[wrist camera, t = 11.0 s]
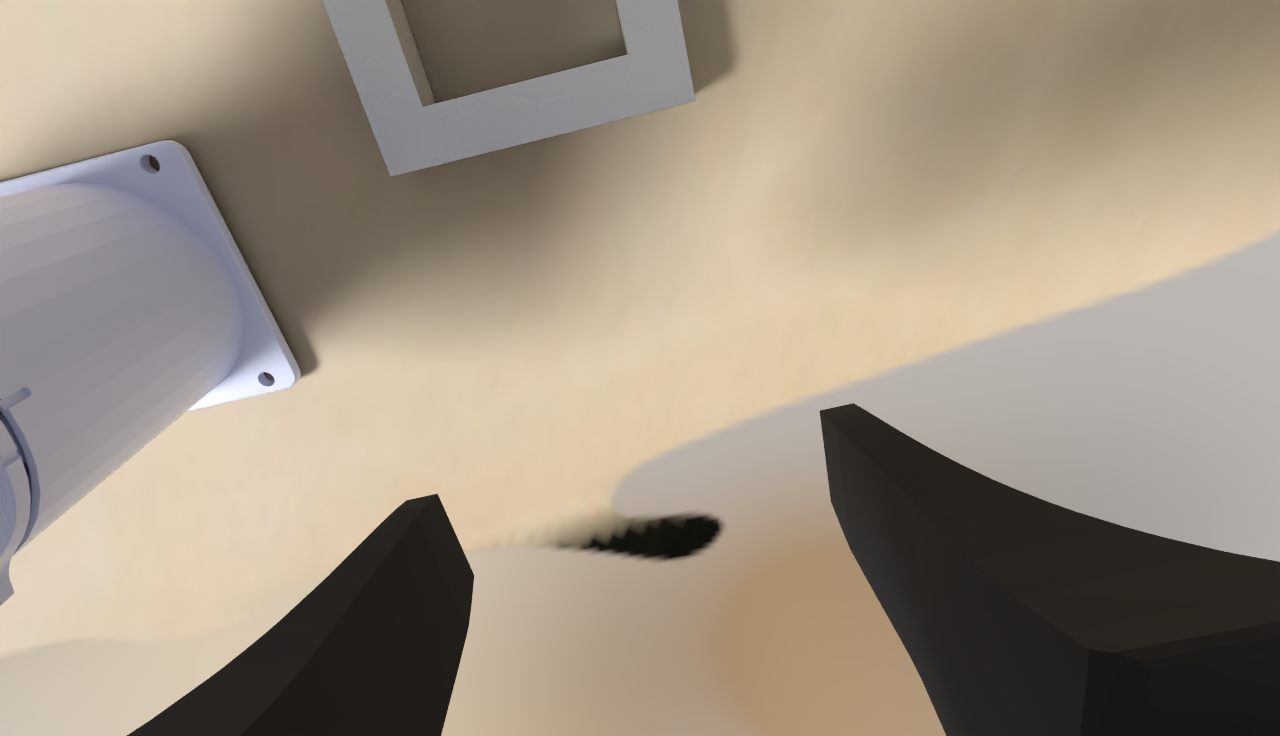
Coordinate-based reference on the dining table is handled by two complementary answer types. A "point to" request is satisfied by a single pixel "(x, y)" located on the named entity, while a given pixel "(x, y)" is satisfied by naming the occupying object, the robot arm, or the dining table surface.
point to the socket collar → (511, 113)
